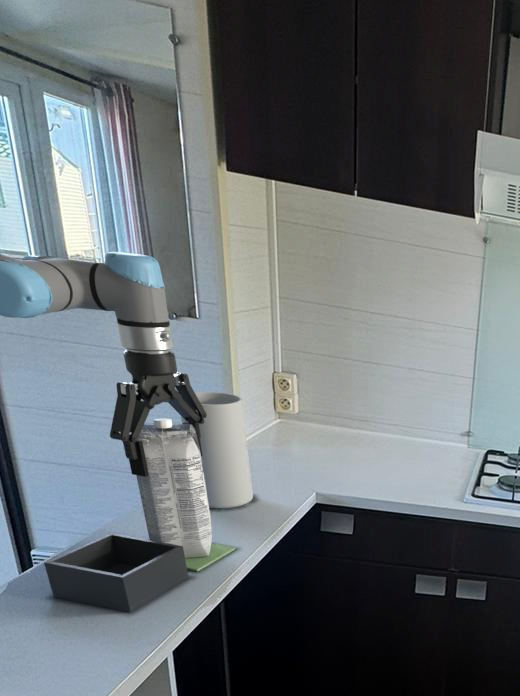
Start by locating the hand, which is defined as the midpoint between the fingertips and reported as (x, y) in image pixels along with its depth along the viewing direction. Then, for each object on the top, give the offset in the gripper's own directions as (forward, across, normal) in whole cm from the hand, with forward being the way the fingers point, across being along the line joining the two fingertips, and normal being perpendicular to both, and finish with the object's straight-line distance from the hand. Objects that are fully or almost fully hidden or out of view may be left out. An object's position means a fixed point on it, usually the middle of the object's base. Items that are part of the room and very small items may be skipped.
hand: (169, 465), depth 120 cm
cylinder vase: (+19, +28, +12) cm, 36 cm away
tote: (+19, -15, 0) cm, 24 cm away
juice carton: (+19, 0, 0) cm, 19 cm away
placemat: (+19, 0, 0) cm, 19 cm away
